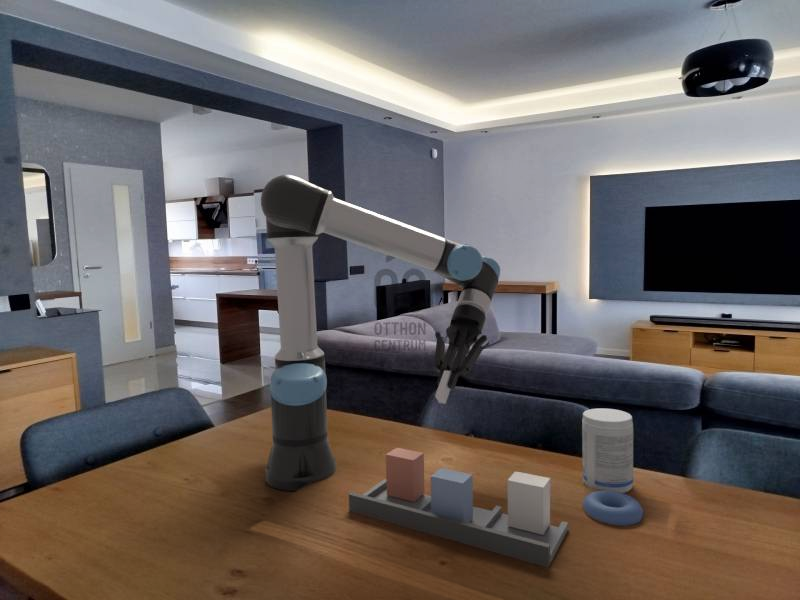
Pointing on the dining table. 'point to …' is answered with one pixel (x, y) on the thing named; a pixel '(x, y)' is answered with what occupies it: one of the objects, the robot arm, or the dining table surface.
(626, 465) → the supplement tub
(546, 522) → the white rectangular block
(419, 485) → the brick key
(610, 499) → the doughnut
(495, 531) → the grey divided tray
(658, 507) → the dining table surface
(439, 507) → the blue rectangular block
